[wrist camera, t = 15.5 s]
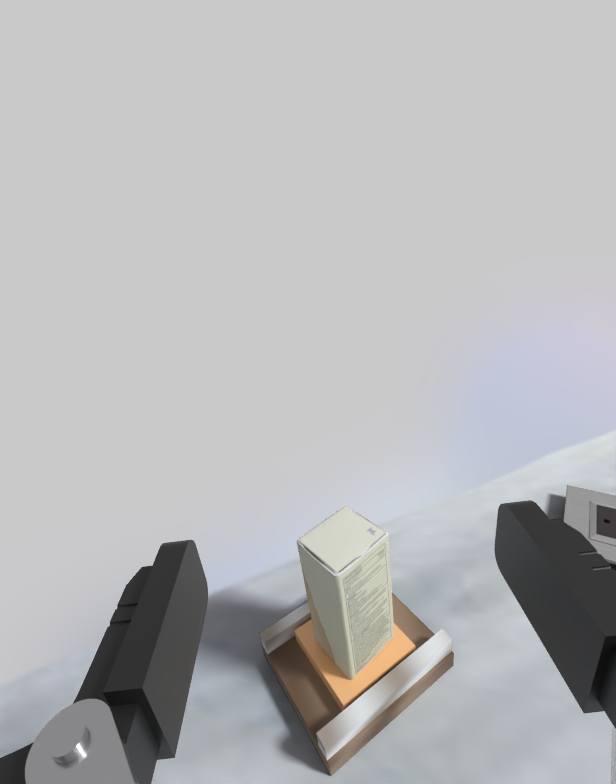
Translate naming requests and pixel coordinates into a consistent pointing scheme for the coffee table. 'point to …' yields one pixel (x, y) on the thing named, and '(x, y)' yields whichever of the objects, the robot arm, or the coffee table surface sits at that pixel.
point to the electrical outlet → (593, 519)
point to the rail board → (371, 710)
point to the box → (348, 588)
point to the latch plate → (368, 677)
